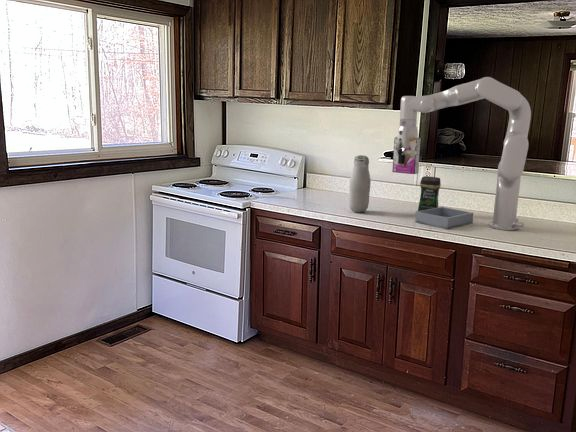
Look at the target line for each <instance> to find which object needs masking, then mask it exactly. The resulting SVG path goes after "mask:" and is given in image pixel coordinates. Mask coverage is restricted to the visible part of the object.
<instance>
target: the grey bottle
mask: <svg viewBox="0 0 576 432" xmlns="http://www.w3.org/2000/svg"><path fill="white" fill-rule="evenodd" d="M353 164H354V165H353V167H352V172H351V174H350V178H349V187H348V190H349V191H348V207H349V209H350V210H351V211H352V212H355V213H365V212H366V211H367V210H368V208H369V206H370V205H369V204H370V194H371V193H370V191H371V182H372V181H371V175H370V170H369V164H370V159H369V157H368V156H367V155H360V154H359V155H356V156H354V159H353Z"/></svg>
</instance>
